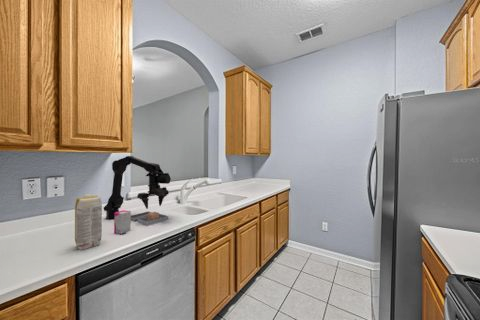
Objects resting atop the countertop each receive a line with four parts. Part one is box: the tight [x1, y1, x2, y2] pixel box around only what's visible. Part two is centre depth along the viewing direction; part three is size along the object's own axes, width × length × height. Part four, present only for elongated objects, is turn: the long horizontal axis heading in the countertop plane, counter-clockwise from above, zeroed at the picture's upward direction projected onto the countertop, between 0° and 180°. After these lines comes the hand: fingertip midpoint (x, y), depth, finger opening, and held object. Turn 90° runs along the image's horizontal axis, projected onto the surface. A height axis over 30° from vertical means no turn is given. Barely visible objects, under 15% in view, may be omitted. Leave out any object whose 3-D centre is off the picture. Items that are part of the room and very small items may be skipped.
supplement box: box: [113, 210, 132, 236], centre depth 106 cm, size 6×6×12 cm
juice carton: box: [74, 193, 103, 251], centre depth 90 cm, size 9×8×24 cm
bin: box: [131, 211, 151, 222], centre depth 131 cm, size 15×10×2 cm
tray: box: [137, 213, 169, 227], centre depth 124 cm, size 15×10×2 cm
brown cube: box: [148, 211, 160, 221], centre depth 124 cm, size 5×5×5 cm
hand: (153, 207), depth 124 cm, fingers open, 9 cm apart
